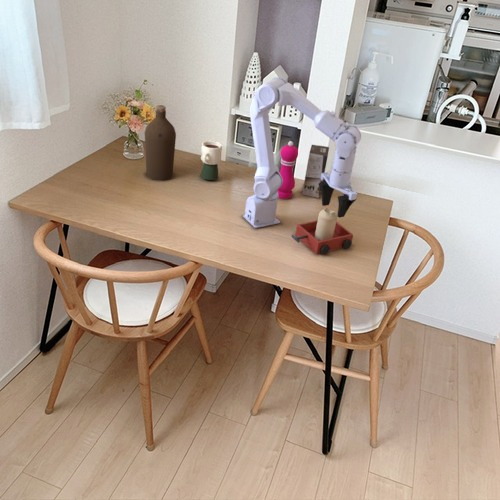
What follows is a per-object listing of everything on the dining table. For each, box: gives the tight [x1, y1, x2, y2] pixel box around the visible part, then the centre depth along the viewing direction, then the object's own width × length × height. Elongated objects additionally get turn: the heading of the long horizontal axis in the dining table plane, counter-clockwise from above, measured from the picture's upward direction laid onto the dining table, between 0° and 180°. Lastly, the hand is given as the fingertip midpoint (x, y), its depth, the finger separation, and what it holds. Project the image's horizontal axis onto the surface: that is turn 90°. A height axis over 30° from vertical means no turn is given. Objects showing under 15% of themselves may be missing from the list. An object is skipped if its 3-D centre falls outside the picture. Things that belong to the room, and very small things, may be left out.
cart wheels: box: [291, 234, 353, 255], centre depth 162 cm, size 17×13×3 cm
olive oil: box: [144, 104, 177, 181], centre depth 184 cm, size 11×11×25 cm
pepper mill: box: [278, 140, 299, 200], centre depth 183 cm, size 7×7×20 cm
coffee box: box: [301, 144, 330, 199], centre depth 189 cm, size 9×6×16 cm
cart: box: [294, 219, 354, 255], centre depth 163 cm, size 13×11×4 cm
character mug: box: [200, 140, 223, 181], centre depth 190 cm, size 11×7×13 cm, turn 158°
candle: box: [315, 207, 338, 241], centre depth 161 cm, size 6×6×10 cm
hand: (333, 210), depth 159 cm, fingers open, 7 cm apart
